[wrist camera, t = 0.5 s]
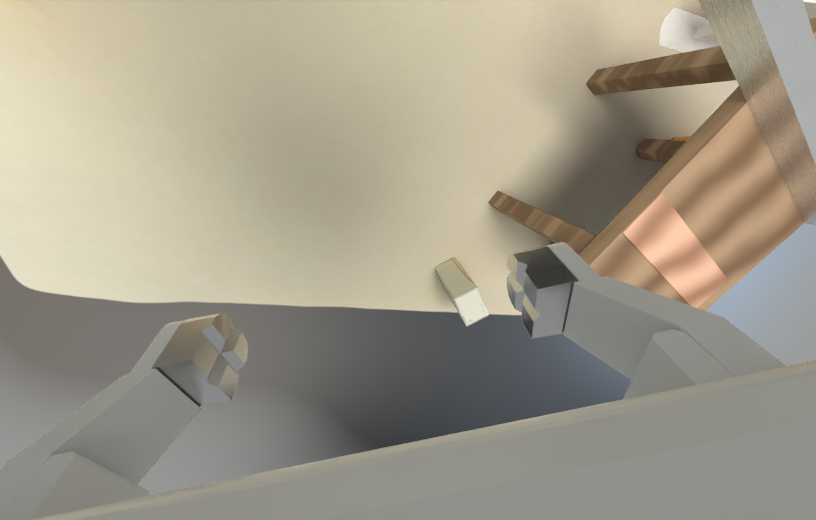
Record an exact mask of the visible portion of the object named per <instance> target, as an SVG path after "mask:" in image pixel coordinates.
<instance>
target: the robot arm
mask: <svg viewBox="0 0 816 520" xmlns="http://www.w3.org/2000/svg"><path fill="white" fill-rule="evenodd" d="M507 266H508V267H509V269H510V271H511V273H510V274H509V276H508V277H507V289H508V294H509V297H510V300H511V302H512V304H513V306H514V308H515V309H516V310H518V311H520V312H522V319H521V320H522V322H523V324H524V326H525V327H526V329H527V331H528V333H529V334H530V336H531V338H532V339H533V338H538V337H544V336H550V335H555V334H560V333H563V335H565V336H566V337H568V338H569V339H571V340H572V341H574V342H575V343H577V344H578V345H580V346H581V347H583V348H584V349H586V350H587V351H589V352H590V353H592V354H593V355H595V356H597V357H598V358H599V359H601V360H602V361H604V362H605V363H607V364H608V365H610V366H611V367H613V368H614V369H616V370H618V371H619V372H621V373H622V374H624V375H625V376H627V377H628V378H630V379H631V380H632V381H631V383H630V385H629V387H628V390H627V392H626V394H625V396H624V399H623V400H618V401H614V402H609V403H604V404H599V405H594V406H589V407H584V408H579V409H575V410H569V411H565V412H559V413H554V414H550V415H545V416H539V417H535V418H530V419H525V420H520V421H515V422H510V423H505V424H500V425H495V426H490V427H485V428H480V429H475V430H470V431H465V432H460V433H456V434H450V435H446V436H440V437H436V438H430V439H425V440H420V441H416V442H411V443H406V444H401V445H396V446H391V447H386V448H381V449H376V450H371V451H366V452H362V453H356V454H351V455H347V456H341V457H337V458H332V459H327V460H322V461H317V462H312V463H307V464H302V465H298V466H292V467H288V468H282V469H277V470H273V471H268V472H263V473H258V474H253V475H248V476H243V477H238V478H233V479H228V480H223V481H218V482H213V483H208V484H204V485H199V486H193V487H189V488H184V489H179V490H174V491H169V492H164V493H159V494H154V495H152V494H151V491H149V490H147V489H145V488H143V487H141V486H139V485H137V484H138V483H139V482H140V480H141V479H142V478H143V477H144V476H145V474H146V473H147V472H148V471H149V469H150V468H151V467H152V466H153V465H154V464H155V463H156V461H157V460H158V459H159V458H160V457H161V455H162V454H163V453H164V452H165V451H166V450H167V448H168V447H169V446H170V445H171V443H172V442H173V441H174V440H175V439H176V437H177V436H178V435H179V434H180V433H181V432H182V431H183V429H184V428H185V427H186V426H187V424H188V423H189V422H190V421H191V420H192V419H193V417H194V416H195V415H196V414H197V413H198V412H199V410H200V409H201V408H200V407H203V406H207V405H212V404H216V403H221V402H225V401H229V400H231V399H232V397H233V394H234V391H235V389H236V386H237V384H238V381H239V375H238V373H237V371H238V370H239V369H240V368H241V367H242V366H243V365H244V364H245V362H246V359H247V356H248V344H247V341H246V338H245V337H244V335H243V334H242V333H241V332H239V331H237V330H235V329H233V328H232V326H233V321H232V320H231V319H230V317H229V316H228V315H227V314H222V313H220V314H214V315H209V316H204V317H198V318H193V319H188V320H183V321H178V322H172V323H169V324H167V325H165V326H164V327H163V328H162V329H161V330H160V332H159V334H158V335H157V336H156V338H155V339H154V340H153V342H152V343H151V344H150V346H149V347H148V349H147V350H146V351H145V353H144V354H143V355H142V357H141V359H140V360H139V361H138V362H137V364H136V365H135V367H134V368H133V369H132V371H131V372H130V374H126V375H123V376H121V377H120V378H119V379H118V380H116V381H115V382H114V383H112V384H111V385H110V386H108V387H107V388H106V389H104V390H103V391H102V392H100V393H99V394H98V395H97V396H95V397H94V398H92V399H91V400H90V401H88V402H87V403H86V404H84V405H83V406H82V407H80V408H79V409H78V410H77V411H75V412H74V413H73V414H71V415H70V416H68V417H67V418H66V419H64V420H63V421H62V422H60V423H59V424H58V425H56V426H55V427H54V428H52V429H51V430H50V431H48V432H47V433H46V434H44V435H43V436H42V437H40V438H39V439H38V440H36V441H35V442H34V443H32V444H31V445H30V446H28V447H27V448H26V449H24V450H23V451H22V452H20V453H19V454H18V455H16V456H15V457H14V458H12V459H11V460H10V461H8V462H7V463H6V464H5V465H4V466H3V468H2V469H1V470H0V520H816V361H811V362H806V363H801V364H796V365H791V366H786V365H784V364H783V363H782V362H781V361H779V360H778V359H777V358H775V357H774V356H773V355H771V354H770V353H769V352H768V351H766V350H765V349H764V348H762V347H761V346H760V345H759V344H757V343H756V342H755V341H753V340H752V339H751V338H749V337H748V336H747V335H745V334H744V333H743V332H742V331H740V330H739V329H738V328H736V327H735V326H734V325H733V324H731V323H730V322H729V321H727V320H726V319H725V318H723V317H720V316H717V315H715V314H712V313H709V312H707V311H704V310H701V309H698V308H695V307H693V306H690V305H687V304H684V303H681V302H679V301H676V300H673V299H670V298H667V297H665V296H662V295H659V294H656V293H653V292H651V291H648V290H645V289H642V288H639V287H636V286H634V285H631V284H628V283H625V282H622V281H620V280H617V279H614V278H611V277H608V276H603V277H600V276H599V275H598V274H597V273H596V272H595V271H594V270H593V269H592V268H591V267H590V266H589V265H588V264H587V263H586V262H585V261H584V260H583V259H582V258H581V257H580V256H579V255H578V254H577V253H576V252H575V251H574V250H573V249H572V248H571V247H570V246H569V245H568V244H567V243H564V242H560V243H555V244H551V245H547V246H544V247H540V248H535V249H530V250H526V251H521V252H516V253H512V254H509V256H508V262H507Z"/></svg>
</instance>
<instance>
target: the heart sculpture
mask: <svg viewBox="0 0 816 520" xmlns="http://www.w3.org/2000/svg"><path fill="white" fill-rule="evenodd" d="M803 2H804V6H805V9H806V12H807V15H808V18H809V19H812V18H816V0H803ZM659 45H661V46H664V47H667V48H671V49H674V50H677V51H680V52H683V53H685V52H690V51H695V50H700V49H705V48H710V47H715V46H720V44H719V42H718V40H717V38H716V36H715V34H714V31H713V29H712V27H711V25H710V23H709V21H708V19H706V18H704V17H701V16H698V15H695V14H693V13H690V12H687V11H684V10H681V9H679V8H676V7H674V8H673V9H672V10H671V11H670V12H669V14H668V15H667V16H666V18H665V19H664V21H663V23H662V25H661V29H660V35H659Z"/></svg>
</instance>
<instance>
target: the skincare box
mask: <svg viewBox="0 0 816 520" xmlns="http://www.w3.org/2000/svg"><path fill="white" fill-rule="evenodd" d="M435 269H436V271H437V274H438V276H439V278H440V280H441V282H442V284H443V286H444V288H445V290H446V292H447V293H448V295H449V297H450V299H451V300H452V302H453V304H454V305H455V307H456V309H457V311H458V312H459V314H460V316H461V317H462V319H463V321H464V323H465V324H466V326H468V325H471V324H472V323H474V322H477V321H479V320H481V319H483V318H484V317H486V316H488V315H489V312H488V310H487V307H486V305H485V302H484V300H483V298H482V296H481V293H480V291H479V289H478V288H477V286H476V285H475V284H474V282H473V281H472V280H471V279H470V277H469V276H468V275H467V273H466V272H465V271H464V269H463V268H462V267H461V266H460V264H459V263H458V262H457V261H456V259H455V258H452V259H450V260H448V261H446V262H444V263H442V264H440V265H438V266H436V267H435Z"/></svg>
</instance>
